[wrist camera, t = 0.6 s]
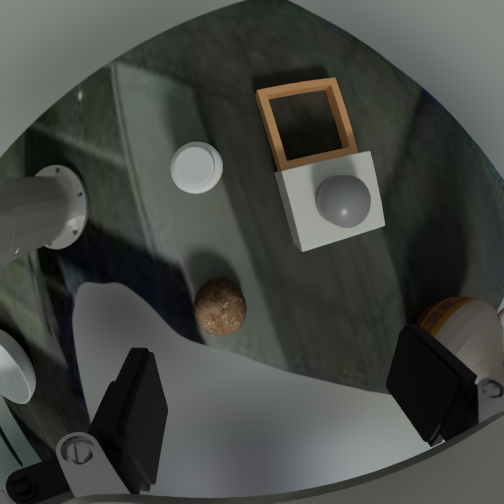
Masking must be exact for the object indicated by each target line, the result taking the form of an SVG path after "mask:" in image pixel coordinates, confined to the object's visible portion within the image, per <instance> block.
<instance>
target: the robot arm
mask: <svg viewBox="0 0 504 504" xmlns="http://www.w3.org/2000/svg"><path fill="white" fill-rule="evenodd" d="M81 192H82V194H81ZM88 213H89V202H88V195H87V191H86V188H85V186H84V183H83V181H82V180H81V178H80V177H79V175H78V174H77V173H76V172H75V171H74V170H72V169H70V168H69V167H66V166H63V165H51V166H48V167H45V168H44V169H42V170H40V171H39V172H38V173H37V174H36V175H35V176H33V177H18V178H5V179H0V267H1V266H3V265H5V264H7V263H9V262H11V261H13V260H15V259H17V258H19V257H21V256H23V255H25V254H27V253H29V252H31V251H33V250H35V249H38V248H40V247H42V246H46V247H48V248H51V249H61V248H65V247H67V246H69V245H71V244H72V243H74V242H75V241H76V240H77V239H78V238H79V237H80V235H81V234H82V232H83V230H84V228H85V225H86V223H87V219H88ZM477 377H478V376H477V375H476V374H475V373H474V372H473V371H472V370H471V369H470V368H468V367H467V366H466V365H465V364H464V363H463V362H462V361H461V360H460V359H458V358H457V357H456V356H455V355H454V354H453V353H452V352H451V351H449V350H448V349H447V348H446V347H445V346H444V345H443V344H441V343H440V342H439V341H438V340H437V339H436V338H434V337H433V336H432V335H431V334H430V333H429V332H427V331H426V330H425V329H424V328H423V327H421V326H420V325H419V324H412V325H407V326H405V327H404V328H403V330H401V332H400V334H399V338H398V342H397V346H396V350H395V353H394V357H393V361H392V364H391V368H390V371H389V375H388V378H387V381H386V386H387V389H388V391H389V392H390V393H391V395H392V396H393V397H394V399H395V400H396V402H397V403H398V405H399V406H400V407H401V409H402V410H403V412H404V413H405V414H406V416H407V417H408V419H409V420H410V422H411V423H412V425H413V426H414V427H415V429H416V430H417V432H418V433H419V434H420V436H421V438H422V439H423V440H424V441H425V442H428V444H429V445H430V447H433V446H435V445H437V444H439V443H441V442H442V440H443V439H444V440H445V442H444V443H442V444H440V445H438V446H436V447H434V448H432V449H430V450H428V451H426V452H423V453H421V454H419V455H417V456H414V457H412V458H409V459H407V460H405V461H402V462H399V463H397V464H394V465H392V466H389V467H387V468H383V469H381V470H378V471H375V472H372V473H369V474H365V475H362V476H359V477H356V478H352V479H348V480H345V481H341V482H337V483H333V484H328V485H324V486H319V487H315V488H310V489H304V490H299V491H293V492H286V493H279V494H271V495H262V496H249V497H231V498H186V497H168V496H152V495H140V494H139V493H140V490H142V491H150V485H151V484H153V485H154V484H155V483H156V478H157V471H158V465H159V459H160V453H161V447H162V441H163V436H164V430H165V424H166V419H167V414H168V407H167V403H166V399H165V396H164V392H163V388H162V385H161V381H160V377H159V373H158V369H157V365H156V361H155V357H154V353H152V352H149V350H148V349H147V348H131V350H130V352H129V354H128V356H127V358H126V360H125V362H124V364H123V366H122V368H121V370H120V373H119V375H118V377H117V379H116V381H112V382H111V383H110V384H109V386H108V388H107V390H106V392H105V395H104V397H103V399H102V401H101V403H100V405H99V408H98V410H97V412H96V414H95V417H94V419H93V421H92V423H91V426H90V428H89V430H88V433H87V434H86V433H83V432H75V433H71V434H68V435H66V436H64V437H63V438H62V439H61V440H60V441H59V443H58V445H57V448H56V454H57V456H55V457H52V458H50V459H47V460H45V461H42V462H39V463H37V464H34V465H31V466H28V467H26V468H23V469H20V470H17V471H15V472H13V473H12V474H11V475H10V476H9V477H8V479H7V482H6V490H5V491H3V490H1V489H0V504H504V383H503V382H502V381H500V380H498V379H496V378H493V377H485V378H482V379H481V380H480V381H479V382H478V384H475V381H476V379H477Z"/></svg>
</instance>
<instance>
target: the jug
mask: <svg viewBox="0 0 504 504" xmlns="http://www.w3.org/2000/svg"><path fill="white" fill-rule="evenodd" d="M503 319H504V308H503V309H502V310H501V311H500V312H499V313H497V311H496V310H495V309H494V308H493V307H492V306H491V305H489V304H488V303H486V302H484V301H481V300H479V299H475V298H470V297H450V298H447V299H444V300H441V301H439V302H437V303H435V304H432V305H430V306H429V307H427V308H426V309H425V310H424V311H423V312H422V313H421V314H420V315H419V317H418V319H417V321H416V323H415V324H419V325H420V326H421V327H423V328H424V329H425V330H426V331H427V332H429V333H430V334H431V335H432V336H433V337H434V338H436V339H437V340H438V341H439V342H440V343H441V344H443V345H444V346H445V347H446V348H447V349H448V350H449V351H451V352H452V353H453V354H454V355H455V356H456V357H457V358H458V359H460V360H461V361H462V362H463V363H464V364H465V365H466V366H467V367H468V368H470V369H471V370H472V371H473V372H474V373H475V374H476V375H477V376H478V377H477V379H476V381H475V384H478V382H479V381H480V380H481V379H482V378H485V377H493V378H496V379H498V380H500V381H502V382H503V383H504V333H503V325H502V322H503Z"/></svg>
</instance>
